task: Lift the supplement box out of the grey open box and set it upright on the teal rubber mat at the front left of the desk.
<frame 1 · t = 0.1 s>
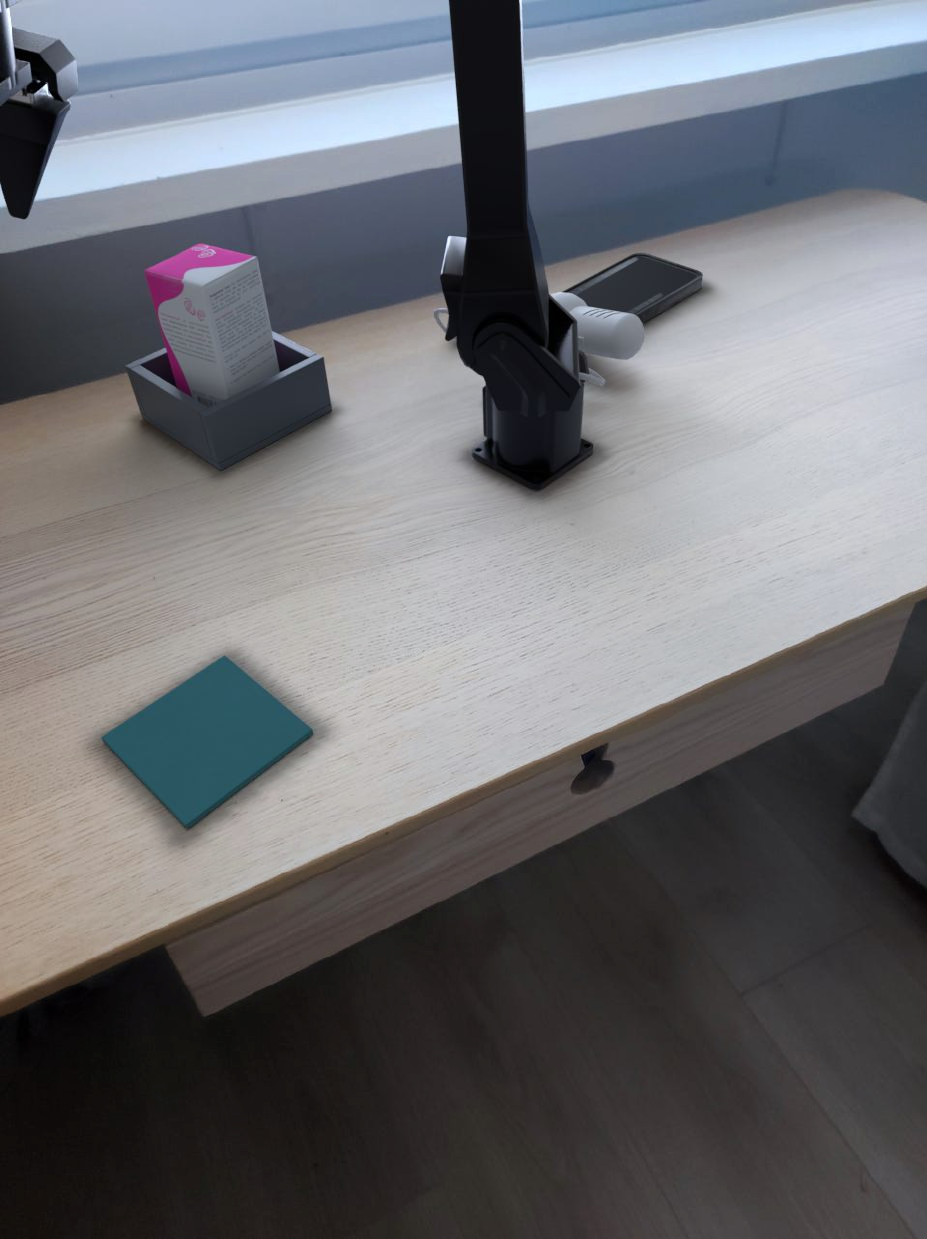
supplement box: (236, 409, 71), resting on grey open box
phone: (622, 303, 82), on the table
clip-on lamp: (526, 368, 75), on the table
counter mat: (208, 737, 48), on the table
grey open box: (237, 414, 71), on the table
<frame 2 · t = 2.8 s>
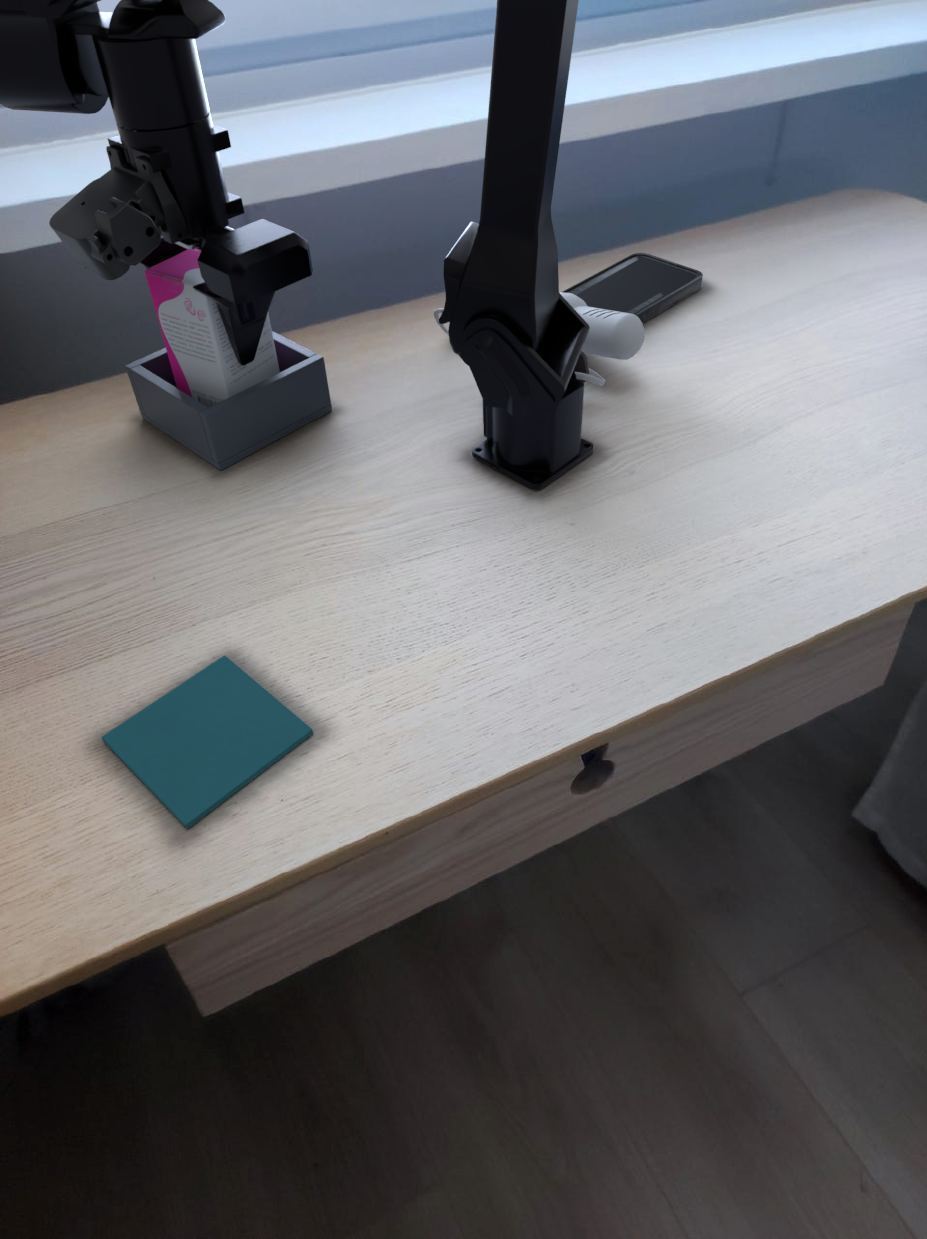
hand: (220, 348, 67), 6 cm above the table, tool pointing down, fingers closed on supplement box, 6 cm apart
supplement box: (236, 409, 71), resting on grey open box, touching gripper
everything else where it was.
when the fingers open (5 cm above the table, at t = 8.8 s): supplement box stays where it is, resting on counter mat.
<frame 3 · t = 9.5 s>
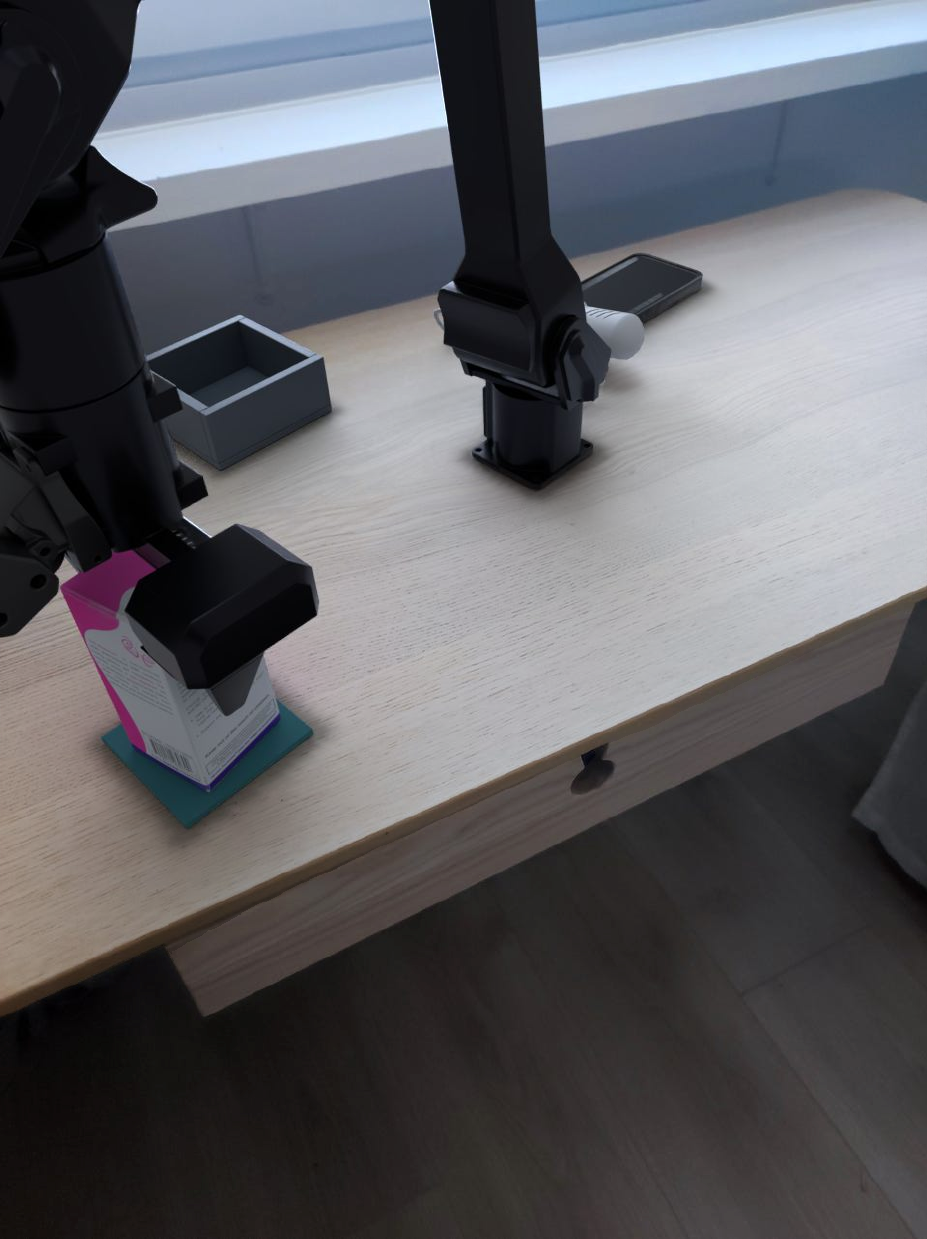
hand: (177, 659, 44), 6 cm above the table, tool pointing down, fingers open, 9 cm apart
supplement box: (209, 734, 48), resting on counter mat
everything else where it was.
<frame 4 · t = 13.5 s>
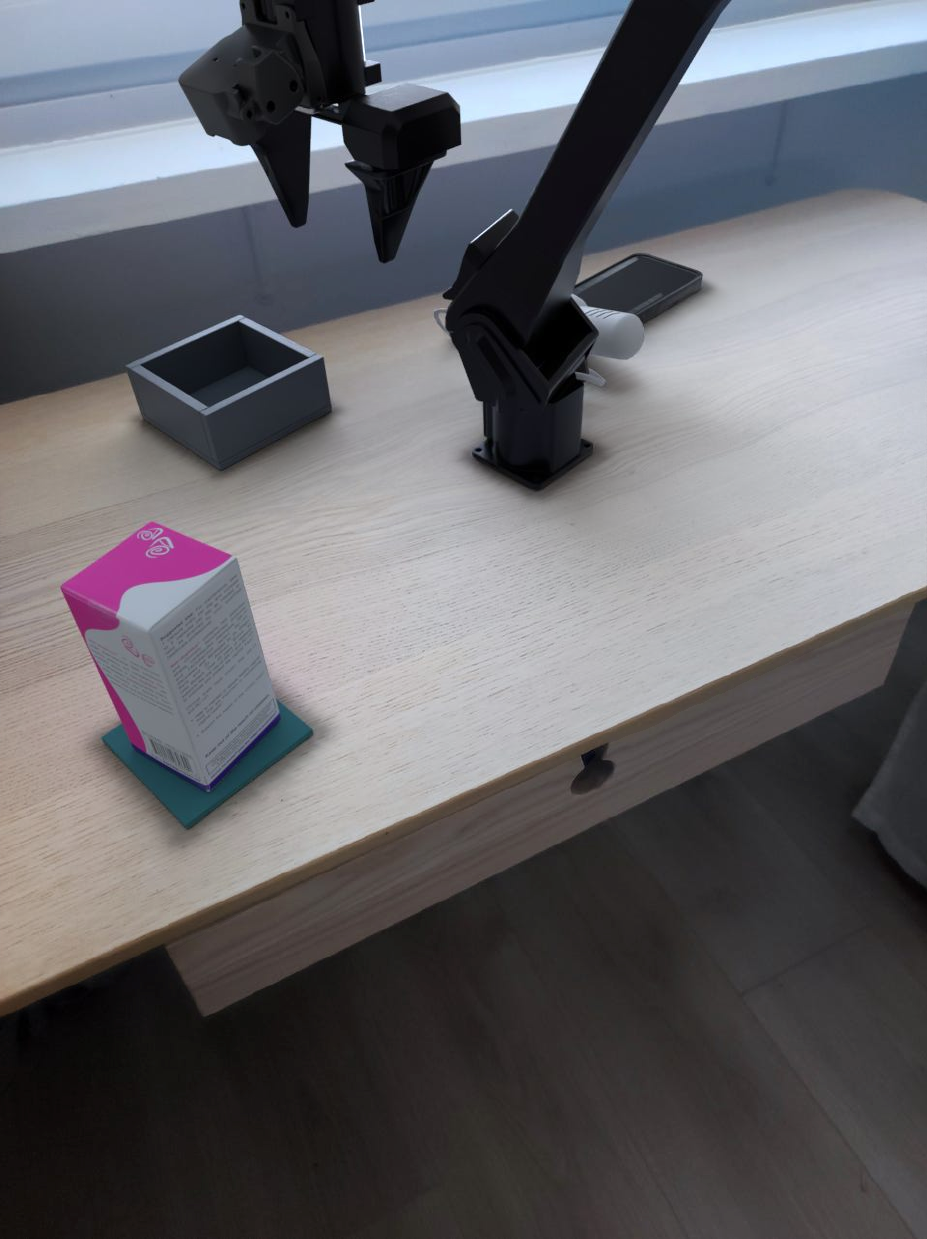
hand: (341, 243, 62), 13 cm above the table, tool pointing down, fingers open, 9 cm apart
nothing on the table moved.
at the end: supplement box inside the target area on the counter mat (0.1 cm from its centre), point 0.2 cm above the counter mat's base; supplement box tilted 0°; supplement box touching counter mat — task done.
